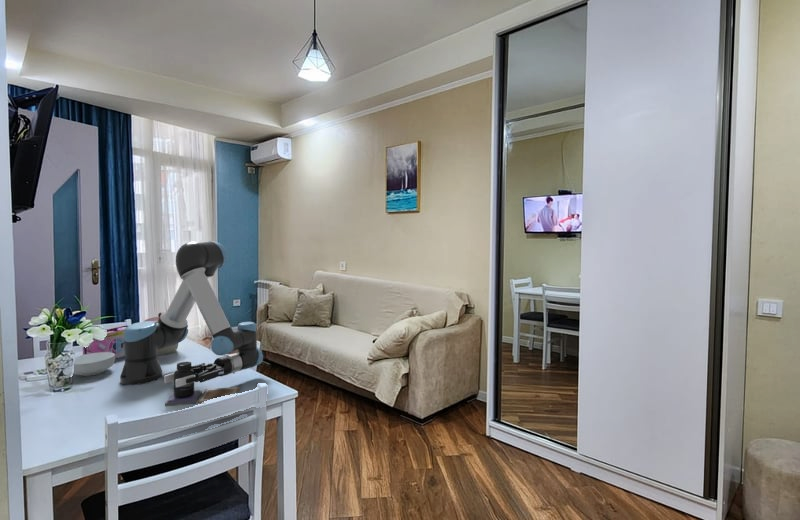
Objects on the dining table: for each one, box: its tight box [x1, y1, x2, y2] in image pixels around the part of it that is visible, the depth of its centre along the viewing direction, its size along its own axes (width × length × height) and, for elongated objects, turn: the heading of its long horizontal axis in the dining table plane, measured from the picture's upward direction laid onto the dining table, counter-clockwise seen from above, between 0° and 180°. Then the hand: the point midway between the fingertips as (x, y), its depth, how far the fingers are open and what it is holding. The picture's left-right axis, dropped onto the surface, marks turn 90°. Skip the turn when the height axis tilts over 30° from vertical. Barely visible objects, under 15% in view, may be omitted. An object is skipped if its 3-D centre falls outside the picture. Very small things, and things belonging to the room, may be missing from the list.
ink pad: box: [164, 389, 203, 407], centre depth 153 cm, size 10×10×2 cm
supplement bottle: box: [173, 361, 195, 398], centre depth 153 cm, size 7×7×12 cm
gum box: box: [82, 325, 129, 359], centre depth 204 cm, size 24×8×14 cm, turn 163°
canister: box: [144, 311, 179, 356], centre depth 213 cm, size 18×18×21 cm
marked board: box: [196, 386, 240, 405], centre depth 157 cm, size 12×12×1 cm
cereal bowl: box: [73, 352, 116, 377], centre depth 181 cm, size 17×17×7 cm
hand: (170, 381), depth 149 cm, fingers closed on supplement bottle, 7 cm apart
